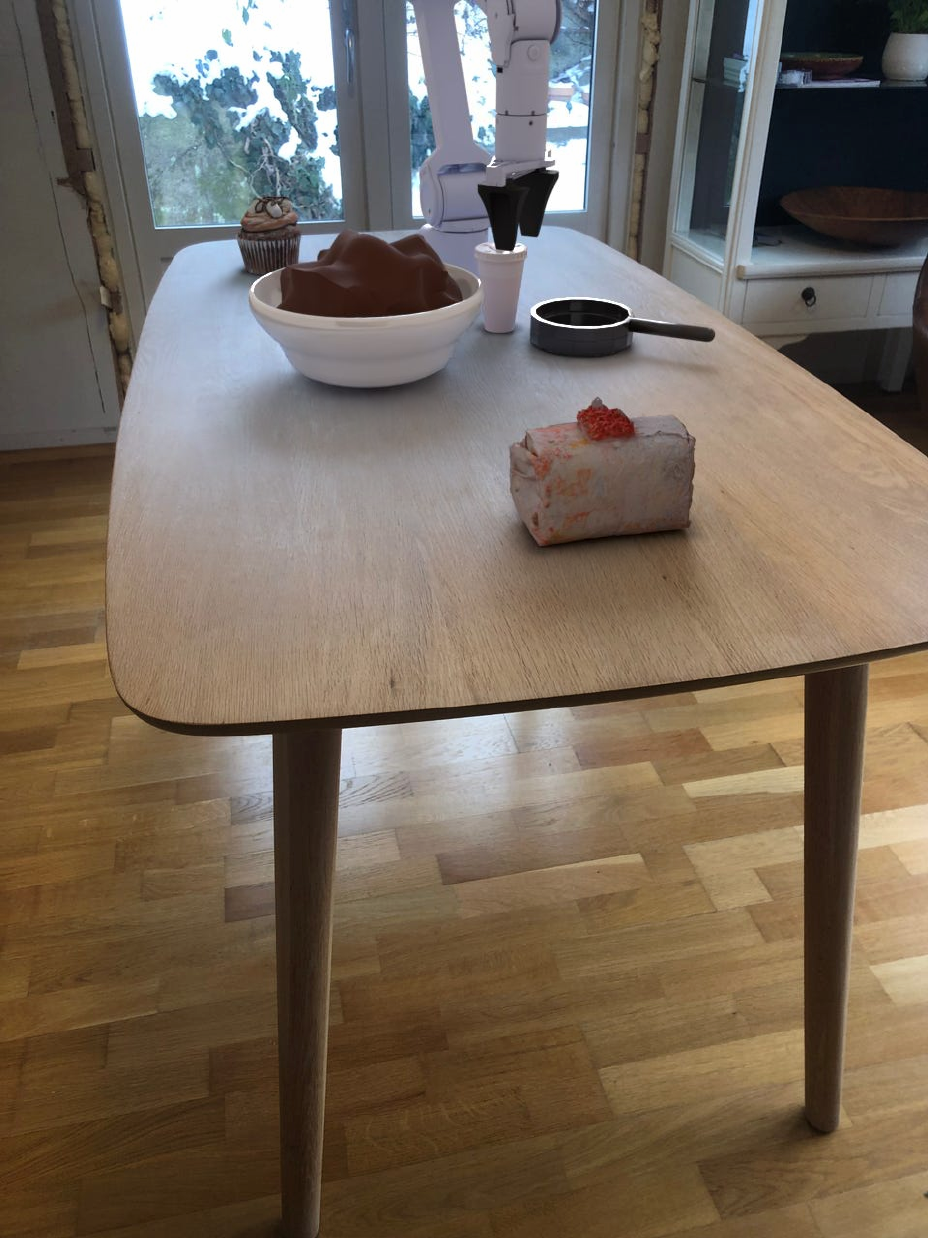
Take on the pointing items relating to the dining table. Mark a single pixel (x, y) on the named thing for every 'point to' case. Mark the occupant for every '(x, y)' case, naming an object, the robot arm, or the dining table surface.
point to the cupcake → (269, 235)
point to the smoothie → (500, 284)
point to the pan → (581, 326)
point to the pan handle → (671, 330)
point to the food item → (603, 476)
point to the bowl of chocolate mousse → (368, 311)
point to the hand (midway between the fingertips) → (517, 242)
